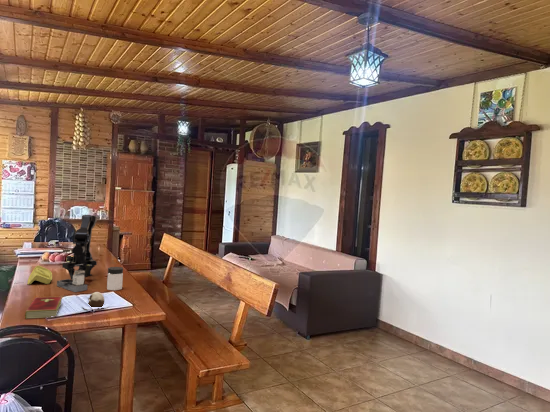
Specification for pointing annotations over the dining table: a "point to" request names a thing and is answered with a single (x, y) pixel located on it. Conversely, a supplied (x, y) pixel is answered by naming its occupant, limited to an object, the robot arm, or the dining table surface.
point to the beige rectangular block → (79, 272)
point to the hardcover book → (43, 307)
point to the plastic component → (40, 275)
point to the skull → (96, 300)
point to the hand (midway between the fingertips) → (79, 278)
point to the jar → (115, 278)
